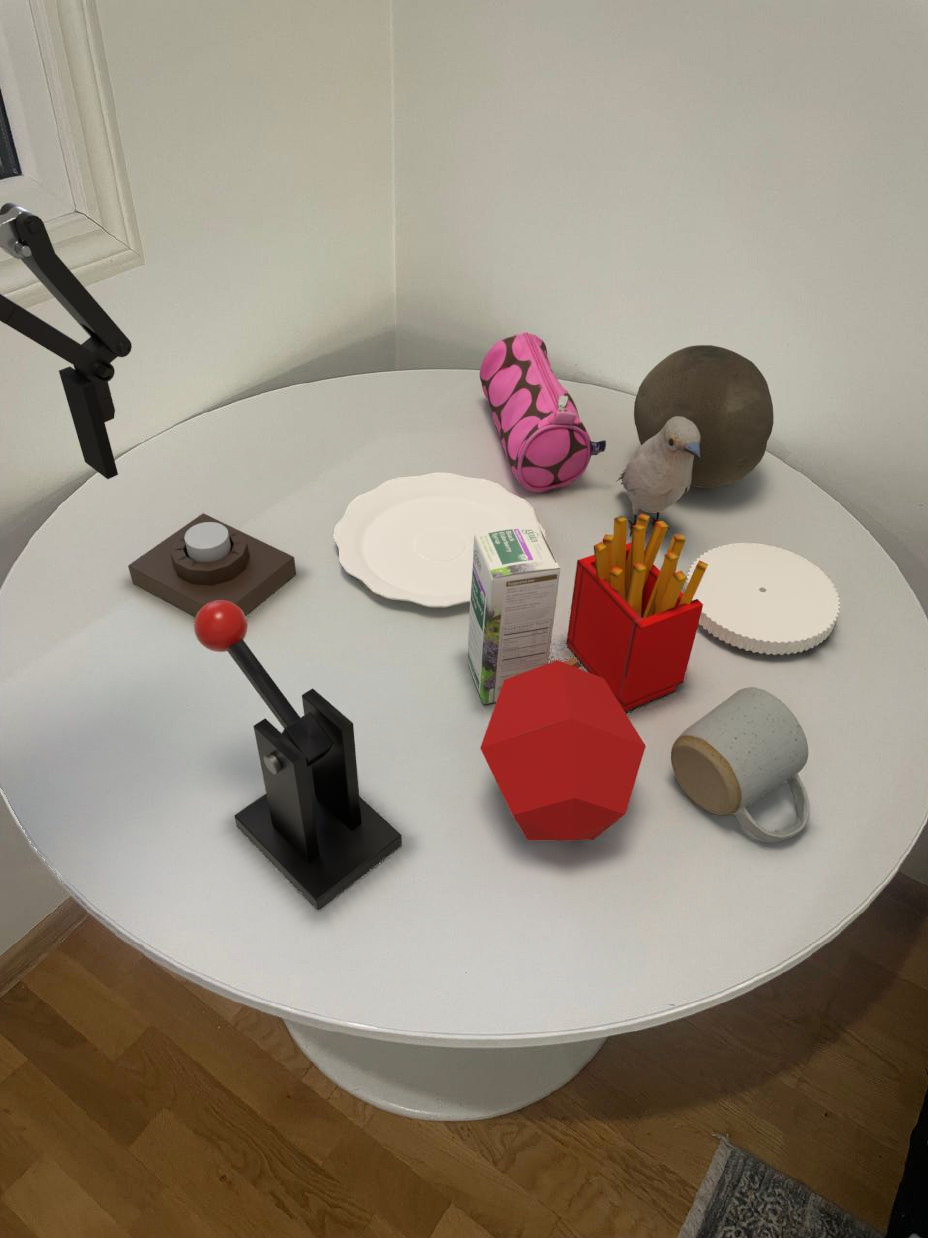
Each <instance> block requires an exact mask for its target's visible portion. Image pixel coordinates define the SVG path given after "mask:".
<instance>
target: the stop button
mask: <svg viewBox="0 0 928 1238" xmlns="http://www.w3.org/2000/svg"><path fill="white" fill-rule="evenodd" d="M184 538H185V543H186V548H187V553H188V555H189V557H190V558H191V559H192V560H194V561H196V562H213V561H217V560H220V559H223V558H224V557H225V556H227V555H228V554H229V552H230V550H231V545H230V539H229V534H228V530H227V528H226V527H225V526H223V525H222V524H219V523H215V522H204V523H200V524H197V525H195V526H193V527H191V528H190V529H189V530H188V531H187V532H186V534H185V537H184Z"/></svg>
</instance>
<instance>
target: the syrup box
mask: <svg viewBox="0 0 928 1238" xmlns="http://www.w3.org/2000/svg"><path fill="white" fill-rule="evenodd" d="M550 545H551V544H550V543H549V541H548V540H547V537H546V538H545V536H544V534H543V532H542V530H541V528H540V527H539V526H524V527H512V528H504V529H497V530H492V531H487V532H483V533H479V534H475V535H474V548H473V567H472V581H471V598H470V602H469V615H468V634H467V635H468V636H467V664H468V667H469V670H470V672H471V676H472V678H473V682H474V684H475V686H476V690H477V692H478V695H479V697H480V700H481V703H482V704H484V705H487V704H493V703H496V702H497V699H498V696H499V693H500V691H501V688H502V685H503V682H504V680H505V679H508V678H510V677H513V676H516V675H518V674H521V673H524V672H527V671H529V670H532V669H535V668H537V667H540V666H543V665H545V664H548V663H549V661H550V652H551V646H552V645H551V644H552V638H553V628H554V622H555V614H556V606H557V599H558V591H559V583H560V582H559V581H560V574H561V566H560V565H559V563H558V561H557V559H556V557H555V555H554V552H553V550H552V548H551V546H550Z"/></svg>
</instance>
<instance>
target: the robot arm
mask: <svg viewBox="0 0 928 1238" xmlns="http://www.w3.org/2000/svg"><path fill="white" fill-rule="evenodd" d="M0 248H1V249H2V250H3V251H4V253H6V254H8V255H9V256H11V257H13V258H15V259H17V260H21V261H22V263H23V264H24V265H25V266H26V267H27V268H28V269H29V271H30V272H31V273H32V274H33V275H34V276H35V277H36V278H37V279H38V280H39V282H40V283H41V284H42V285H43V286H44V287H45V289H47V290H48V291H49V293H50V294H51V295H52V296H53V297H54V298H55V300H56V301H58V303H59V304H60V305H61V306H62V307H63V308H64V309H65V311H66V312H67V313H68V314H69V315H70V316H71V317H72V318H73V320H75V321H76V323H77V324H78V325H79V327H81V328H82V329H83V331H84V332H85V333H86V334H87V335H88V336H89V337H88V338H87V339H86V340H84V342H82V343H79V342H78V341H77V340H75V339H73V338H72V337H70V336H68V335H67V334H65V333H64V332H62V331H60V330H59V329H58V328H57V327H54V326H53V325H51V324H50V323H48V322H46V321H45V320H43V319H41V318H40V317H38V316H37V315H35V314H34V313H32V312H30V311H29V310H27V309H26V308H24V307H23V306H21V305H19V304H18V303H16V302H15V301H13V300H12V299H10V298H8V297H7V296H5V295H4V294H2V293H0V322H1V323H3V324H4V325H7V326H8V327H10V328H11V329H13V330H15V331H16V332H18V333H20V334H21V335H23V336H25V337H26V338H28V339H30V340H31V341H33V342H35V343H36V344H38V345H39V346H41V347H43V348H45V349H46V350H48V351H50V352H51V353H53V354H55V355H56V356H58V357H59V358H61V359H63V360H64V361H66V362H67V363H69V364H71V365H72V366H73V367H72V366H71V365H70V366H67V367H64V368H61V369H59V370H58V373H59V377H60V381H61V384H62V388H63V391H64V394H65V398H66V401H67V404H68V408H69V412H70V415H71V419H72V422H73V425H74V429H75V432H76V436H77V440H78V443H79V447H80V450H81V453H82V457H83V460H84V463H85V464H87V465H88V466H89V467H90V468H92V470H95V471H96V472H97V473H99V474H100V475H101V476H102V477H104V478H105V479H106V480H110V479H112V478H114V477H117V476H118V475H119V472H118V469H117V463H116V462H115V460H116V459H115V457H114V454H113V453H114V452H113V449H112V445H111V442H110V438H109V434H108V431H107V425H106V423H108V422H109V421H111V420H114V419H115V414H116V408H115V404H114V400H113V396H112V393H111V389H110V383H109V382H110V381H112V379H113V378H114V376H115V373H116V372H115V367H114V366H113V364H112V362H113V361H115V360H116V359H117V358H125V357H127V356H129V355H130V353H131V352H132V349H133V348H132V347H133V346H132V345H133V344H132V342H131V340H130V338H128V336H127V335H126V334H125V333H124V332H123V331H122V329H121V328H120V327H119V326H118V325H117V323H115V321H114V320H113V319H112V318H111V317H110V315H109V314H108V313H107V312H106V311H105V309H104V308H103V307H102V305H100V303H99V302H98V301H97V300H96V299H95V298H94V297H93V296H92V294H91V293H90V292H89V291H88V290H87V289H86V287H85V286H84V285H83V284H82V283H81V282H80V280H79V279H78V278H77V276H75V274H74V273H73V272H72V271H71V270H70V269H69V268H68V266H67V265H66V264H65V263H64V262H63V260H62V259H61V258H60V257H59V255H57V253H56V252H55V248H54V246H53V243H52V241H51V238H50V236H49V232H48V230H47V228H46V226H45V223H44V221H43V220H42V218H40V217H39V216H38V215H36V214H34V213H32V212H31V211H29V210H27V209H25V208H23V207H22V206H19V205H18V204H16V203H13V202H6V203H4V204H3V205H2V206H1V208H0Z"/></svg>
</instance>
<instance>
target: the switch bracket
mask: <svg viewBox="0 0 928 1238" xmlns="http://www.w3.org/2000/svg"><path fill="white" fill-rule="evenodd" d="M301 701H302V708H303V716H304V715H305V714H307V713H308V712H311V713H312V715H313V716H314V717H315V719H316V720H317V721H318V723H319V724H320V725H321V727H322V728H323V730H324V731H325V732H326V734H327V735H328V736H329V738H330V739H331V740H332V742H333V743H334V745H333V747H332V748H331V749H330V750H329V752H328V753H327V754H326V755H325V756H323V757H322V758H321V759H319V760H318V761H316V762H315V763H313V764H312V765H310V766H309V767H307V762H306V756H305V755H304V754H303V753H302V752H301V751H300V750H299V749H298V748H297V747H296V746H295V745H294V744H293V743H292V742H290V741H289V740H288V739H287V738H286V737H285V736H284V735H283V734H282V732H281V731H280V730H279V729H278V728H277V727H275V726H274V724H273V723H271V722H270V721H269V720H268V719H267V718H266V717H265V718H263V719H262V720H260V721H258V722H257V723H255V724H253V726H252V727H253V732H254V737H255V741H256V742H255V743H256V747H257V752H258V758H259V762H260V768H261V774H262V778H263V779H262V780H263V784H264V788H265V789H264V790H265V793H264V794H263V795H262V796H260V797H259V798H257V799H256V800H254V801H252V802H251V803H250V804H249V805H247V806H246V807H244V808H243V809H241V810H239V812H237V813H235V814H234V817H233V818H234V820H235V825H236V827H238V829H239V830H240V831H241V832H242V833H243V834H244V835H245V836H246V837H247V838H248V839H249V840H250V841H251V842H252V844H254V845H255V846H256V847H257V849H258V850H259V851H260V852H261V853H262V854H263V855H264V856H265V857H266V858H267V859H268V860H269V861H270V862H271V863H272V864H273V865H274V866H275V867H276V868H277V869H278V871H279V872H281V874H282V875H283V876H285V878H286V879H287V880H288V881H289V882H290V883H291V884H292V885H293V886H294V888H296V889H297V890H298V891H299V892H300V893H301V894H302V895H303V897H305V898H306V899H307V900H308V901H309V902H310V904H311V905H312V906H313V907H314V908H315V910H317V911H319V910H321V909H322V908H323V907H325V906H326V905H327V904H329V902H331V901H332V900H333V899H335V898H336V897H337V896H338V895H340V894H341V893H342V892H344V891H345V890H347V888H349V887H350V886H351V885H352V884H354V883H355V882H356V881H358V880H359V879H360V878H361V877H363V876H364V875H365V874H366V873H368V872H369V871H370V870H372V869H373V868H375V866H377V865H378V864H379V863H380V862H381V861H383V860H384V859H385V858H387V857H388V856H390V854H393V852H394V851H396V850H397V849H398V848H400V847H401V846H402V845H403V840H402V839H403V837H402V834H401V833H400V832H399V831H398V830H397V829H396V828H395V827H393V825H391V824H390V823H389V822H388V820H386V819H385V818H384V817H383V816H382V815H380V814H379V813H378V812H377V811H376V810H375V809H374V808H373V807H372V806H371V805H369V803H367V802H366V801H365V800H364V799H363V798H362V797H361V795H360V789H359V777H358V776H359V775H358V764H357V753H356V740H355V730H354V722H352V720H350V718H348V717H347V716H346V715H344V714H343V712H341V711H340V710H339V709H338V708H337V707H335V706H334V705H333V704H331V702H329V701H328V700H327V699H326V698H325V697H324V696H322V695H321V694H320V693H319V692H318V691H317V690H316V689H314V687H313V688H310V689H309V690H308V691H306V692H304V693H303V694H302V695H301Z"/></svg>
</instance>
